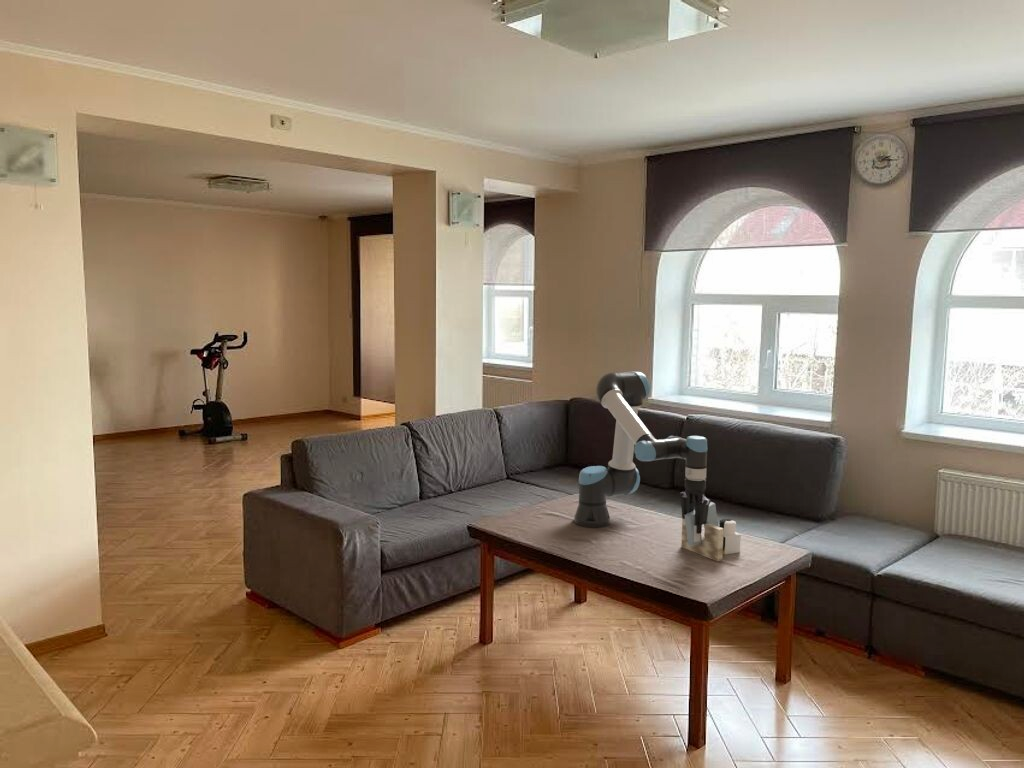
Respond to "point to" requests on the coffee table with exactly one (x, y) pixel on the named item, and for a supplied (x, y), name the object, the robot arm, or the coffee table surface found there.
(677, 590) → the coffee table surface
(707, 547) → the standing plate
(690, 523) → the cross plate
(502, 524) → the coffee table surface
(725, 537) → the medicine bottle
